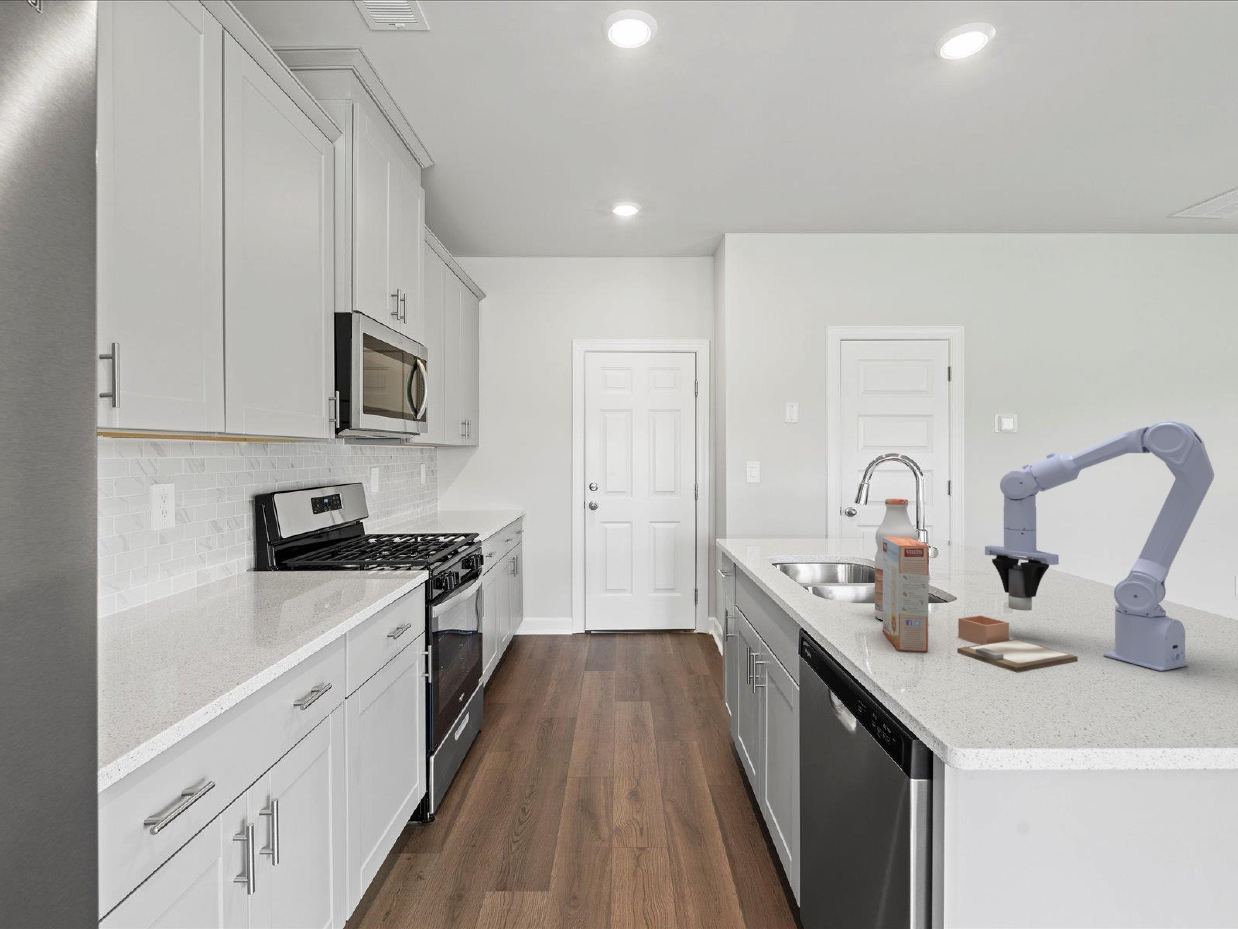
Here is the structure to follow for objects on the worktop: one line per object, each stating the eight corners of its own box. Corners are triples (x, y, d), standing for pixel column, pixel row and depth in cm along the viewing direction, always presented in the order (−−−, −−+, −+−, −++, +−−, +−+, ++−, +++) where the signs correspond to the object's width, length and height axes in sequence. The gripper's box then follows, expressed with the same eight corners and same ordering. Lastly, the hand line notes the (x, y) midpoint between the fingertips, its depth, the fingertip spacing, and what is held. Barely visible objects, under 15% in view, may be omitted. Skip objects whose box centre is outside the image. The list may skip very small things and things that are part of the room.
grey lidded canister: (1036, 609, 128) (1036, 566, 128) (1022, 611, 127) (1022, 568, 127) (1017, 605, 132) (1017, 563, 132) (1003, 606, 131) (1003, 565, 131)
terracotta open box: (1008, 642, 127) (1008, 622, 127) (986, 646, 124) (986, 626, 124) (980, 634, 133) (980, 615, 133) (958, 637, 130) (958, 618, 130)
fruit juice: (892, 612, 151) (892, 497, 151) (928, 621, 143) (928, 499, 142) (865, 617, 147) (865, 498, 146) (900, 627, 138) (900, 501, 138)
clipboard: (1077, 660, 115) (1077, 651, 115) (1016, 672, 109) (1016, 662, 109) (1015, 643, 126) (1015, 634, 126) (957, 652, 120) (957, 643, 120)
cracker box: (930, 653, 120) (930, 545, 120) (897, 651, 121) (896, 544, 121) (911, 633, 134) (911, 536, 133) (881, 632, 135) (881, 535, 135)
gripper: (1068, 531, 124) (1069, 599, 124) (1000, 524, 137) (1001, 586, 138) (1044, 533, 121) (1044, 603, 122) (977, 526, 135) (977, 588, 135)
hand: (1020, 594), depth 129 cm, fingers closed on grey lidded canister, 4 cm apart
